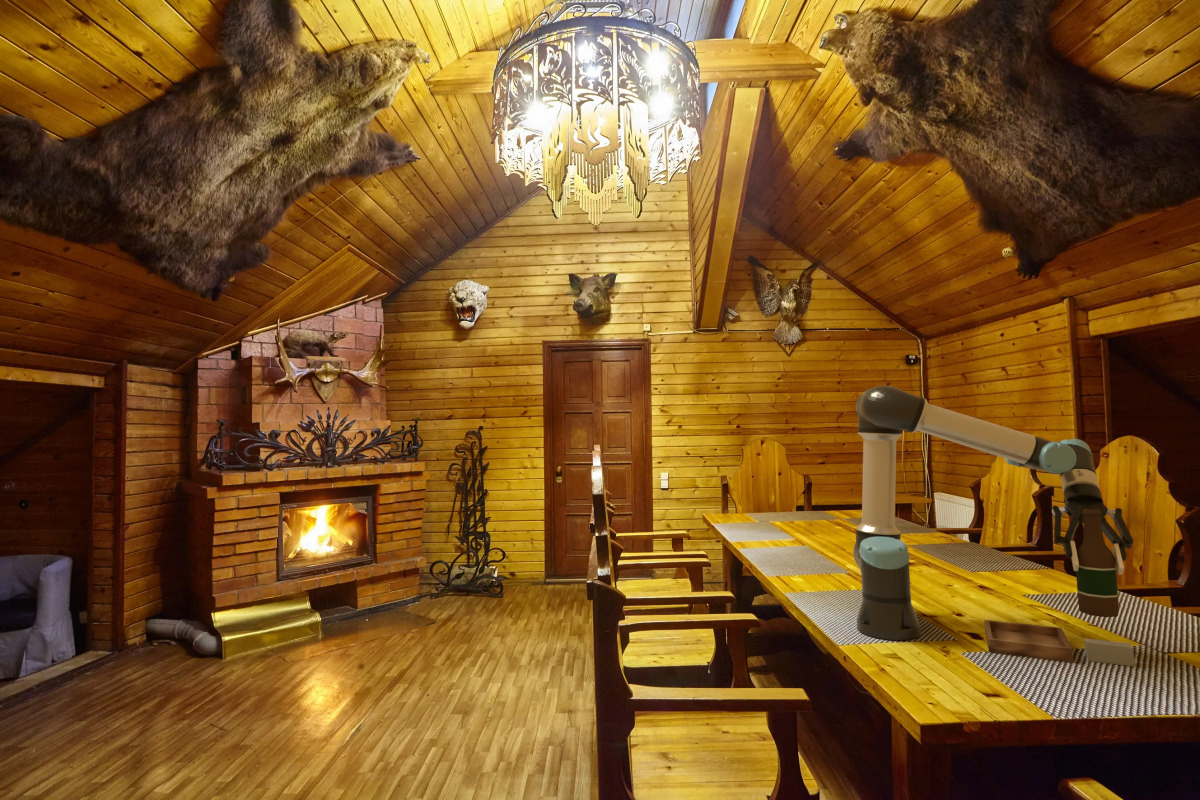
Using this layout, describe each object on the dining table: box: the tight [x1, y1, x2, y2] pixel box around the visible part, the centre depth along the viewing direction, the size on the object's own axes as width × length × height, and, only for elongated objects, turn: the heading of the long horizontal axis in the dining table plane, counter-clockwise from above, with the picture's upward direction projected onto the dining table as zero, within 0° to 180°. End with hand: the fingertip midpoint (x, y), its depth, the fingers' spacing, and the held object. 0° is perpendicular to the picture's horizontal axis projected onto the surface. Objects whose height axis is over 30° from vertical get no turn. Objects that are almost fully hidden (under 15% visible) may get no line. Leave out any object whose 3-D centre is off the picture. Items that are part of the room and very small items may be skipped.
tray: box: [983, 619, 1075, 663], centre depth 148 cm, size 16×16×3 cm
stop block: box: [1084, 638, 1136, 667], centre depth 138 cm, size 8×3×4 cm, turn 61°
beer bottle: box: [1075, 508, 1120, 618], centre depth 145 cm, size 8×8×24 cm
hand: (1098, 569), depth 142 cm, fingers closed on beer bottle, 7 cm apart
